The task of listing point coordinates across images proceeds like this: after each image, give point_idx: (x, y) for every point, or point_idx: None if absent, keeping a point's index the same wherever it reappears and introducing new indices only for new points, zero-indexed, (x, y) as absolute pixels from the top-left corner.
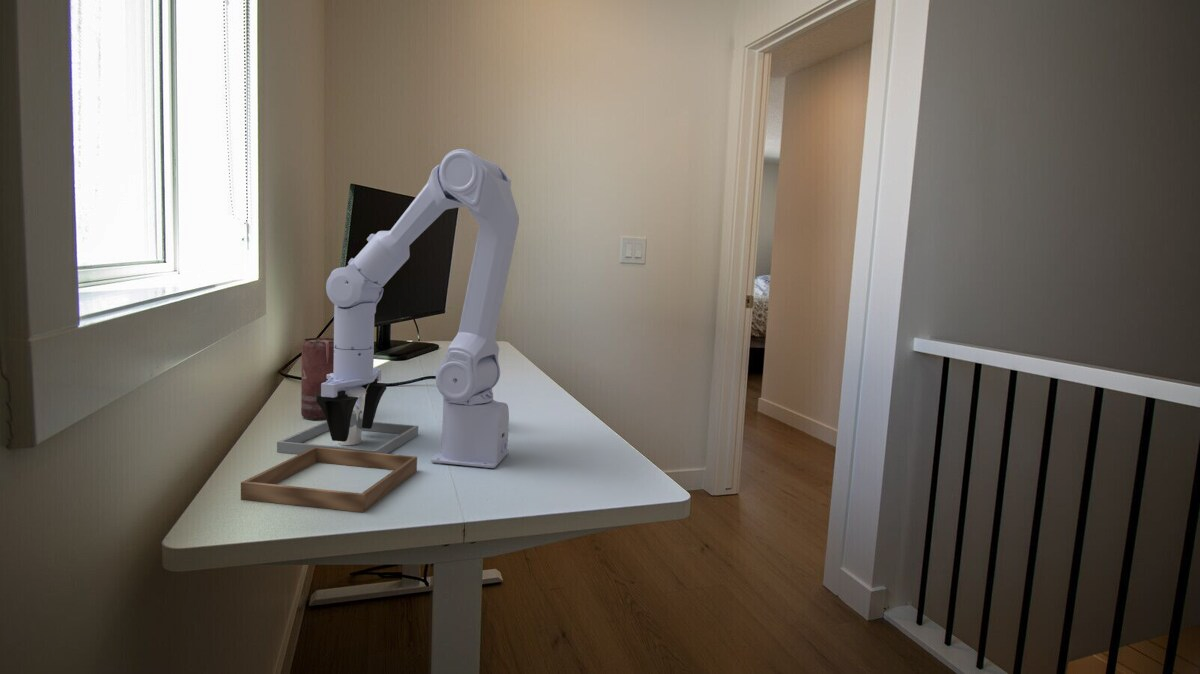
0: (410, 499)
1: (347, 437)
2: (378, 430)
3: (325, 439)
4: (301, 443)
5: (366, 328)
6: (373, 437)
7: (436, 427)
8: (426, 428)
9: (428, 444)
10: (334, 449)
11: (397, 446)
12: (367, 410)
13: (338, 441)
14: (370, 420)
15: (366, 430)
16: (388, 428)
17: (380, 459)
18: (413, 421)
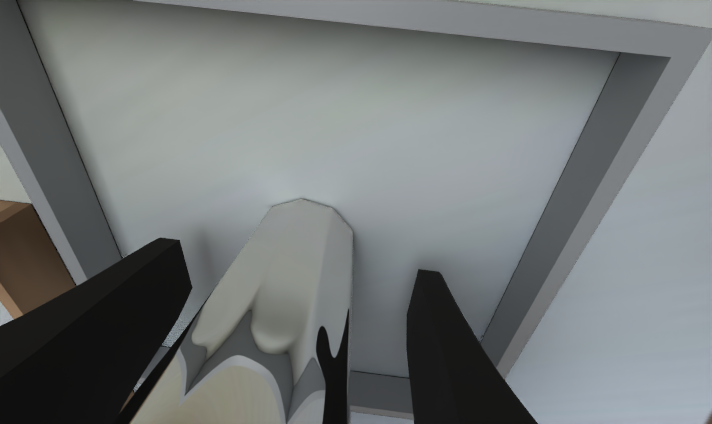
0: None
1: (181, 302)
2: (507, 296)
3: (328, 112)
4: (5, 130)
5: None
6: (412, 292)
7: (576, 418)
8: (563, 400)
9: (361, 416)
10: (11, 310)
11: None
12: (421, 401)
13: (268, 211)
14: (409, 355)
15: (530, 245)
16: (496, 339)
17: None
18: (704, 361)
